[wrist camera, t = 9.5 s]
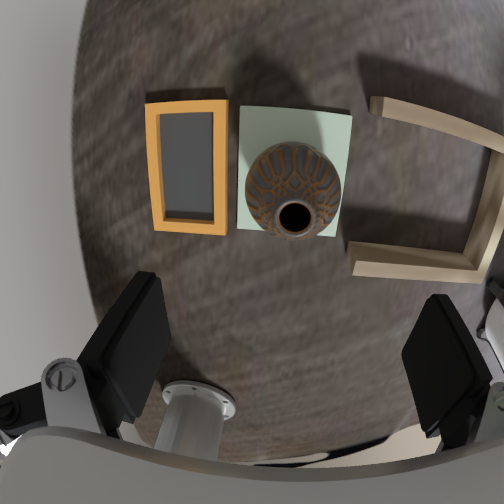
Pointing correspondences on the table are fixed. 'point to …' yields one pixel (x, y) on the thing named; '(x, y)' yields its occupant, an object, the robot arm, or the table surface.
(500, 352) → the coffee press
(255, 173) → the vase
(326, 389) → the table surface
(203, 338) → the table surface
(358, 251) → the open-sided enclosure
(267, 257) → the table surface
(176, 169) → the orange picture frame
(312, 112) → the pad
